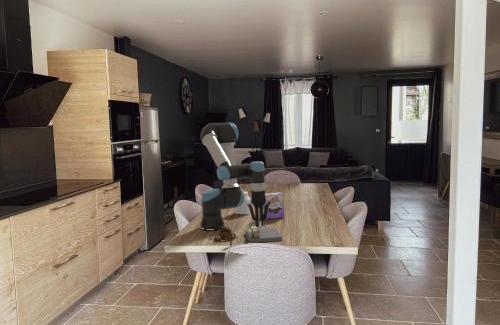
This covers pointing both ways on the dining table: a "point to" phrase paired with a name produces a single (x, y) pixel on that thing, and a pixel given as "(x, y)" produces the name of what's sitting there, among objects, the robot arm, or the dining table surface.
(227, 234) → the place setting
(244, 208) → the jar
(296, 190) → the dining table surface
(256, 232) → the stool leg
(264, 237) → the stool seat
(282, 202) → the candy box
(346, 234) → the dining table surface
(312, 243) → the dining table surface
